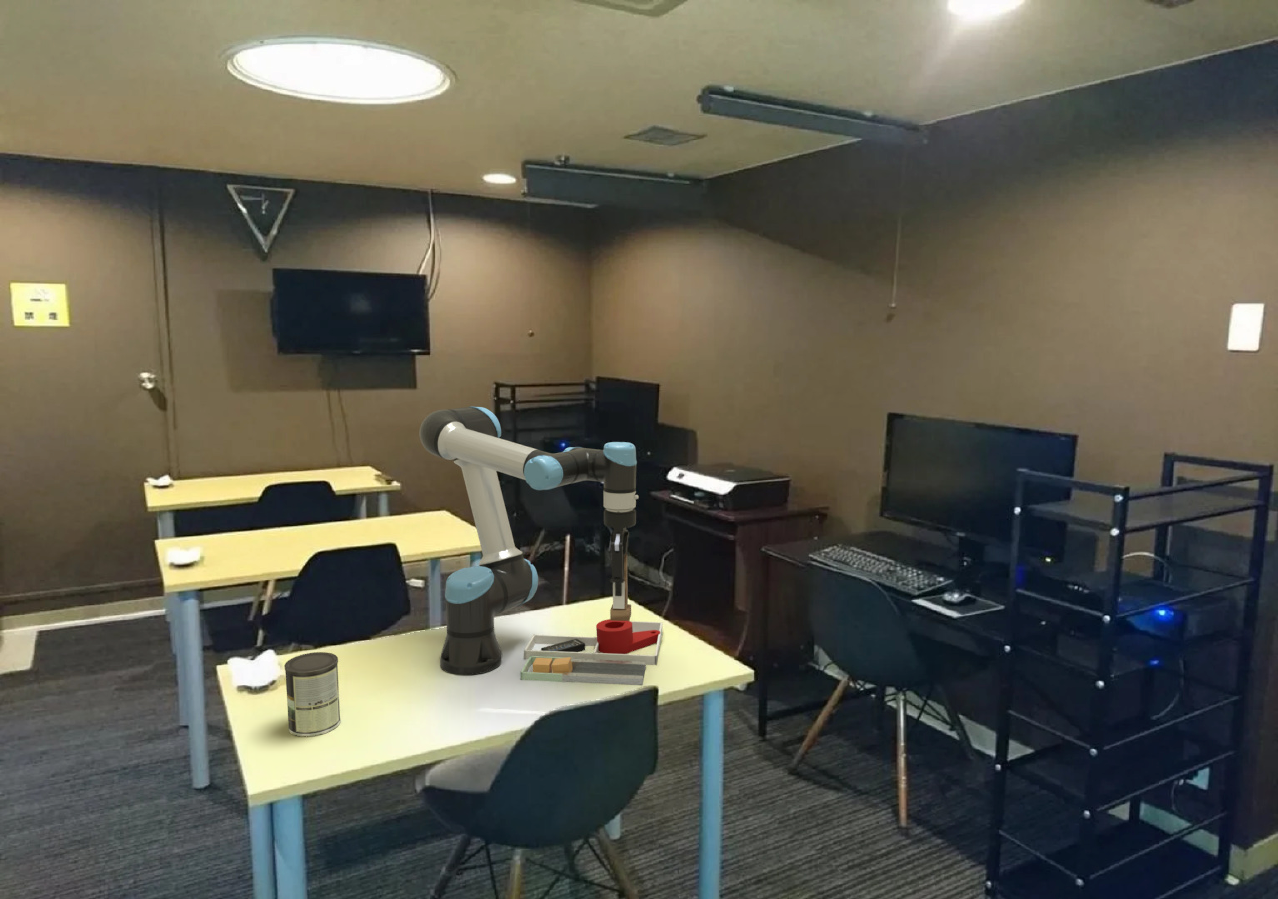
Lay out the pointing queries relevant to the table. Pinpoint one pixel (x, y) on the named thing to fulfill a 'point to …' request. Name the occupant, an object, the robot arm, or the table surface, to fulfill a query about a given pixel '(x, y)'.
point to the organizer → (592, 641)
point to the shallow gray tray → (606, 672)
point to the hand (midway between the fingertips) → (619, 605)
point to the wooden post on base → (625, 613)
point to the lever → (622, 637)
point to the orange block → (562, 665)
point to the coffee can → (312, 693)
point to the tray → (539, 676)
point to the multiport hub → (566, 646)
